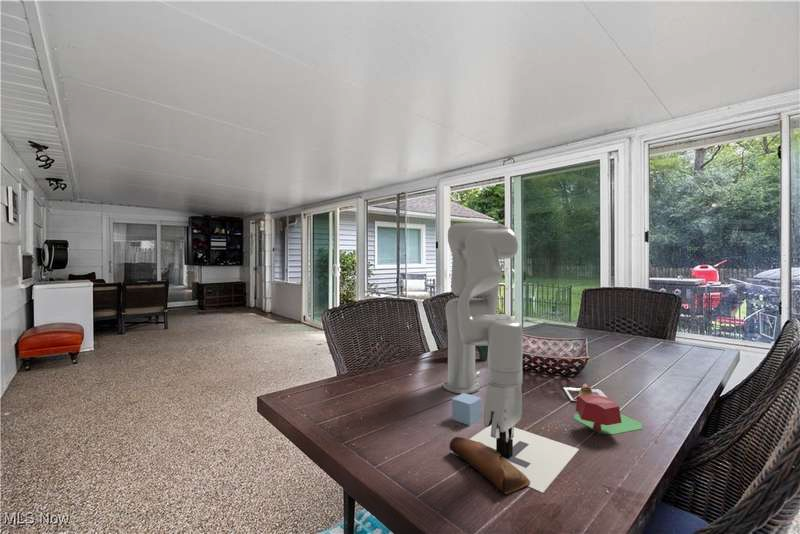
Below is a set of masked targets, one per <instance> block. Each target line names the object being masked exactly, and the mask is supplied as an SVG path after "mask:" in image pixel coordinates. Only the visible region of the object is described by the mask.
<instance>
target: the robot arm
mask: <svg viewBox="0 0 800 534" xmlns="http://www.w3.org/2000/svg"><path fill="white" fill-rule="evenodd" d="M447 242H448V243H447V244H448V246H449V249H450V252H451V256H452V262H451V265H452V266H451V278H450V279H451V280H450V281H451V283H450V286H451V292H452V293H453V295H455V296H457V298H452V299H449V300H448V301H447V302H446V303H445V309H444V310H445V319H446V320H447V327H448V335H447V339H448V359H447V379H446V380H445V381H443V388H444V389H445V390H446V391H448V392H450V393H451V392H452V393H454V394H462V393H466V394H472V393H473V394H474V393H476V392H478V391H480V387H481V386H480V383H479V382H478V381H476V379H477V378H479V377H481V372H480V371H476V347H475V346H488V354H487V382H488V383H487V384H486V385H487V386H486V389H485V391H486V392H485V397H484V408H483V409H484V411H483V413H484V414H483V425H484V427H485V428H487V427H489V426H491V425H492V427H491V437H494V438H496V451H497V452H498V453H500V454H501V456H502V457H504V458H506V459H510V457H512V456H513V439H511V438H513V436H514V427H515V426H516V424H518V423H519V422H520V421H521V419H522V415H523V397H522V396H523V395H522V385H523V351H524V350H523V344H524V343H523V339H524V337H523V336H524V333H523V329H524V328H523V326H522V324H521V323H520V322H519V321H516V318H514V317H513V316H511V315H510V314H497V309H498V299H499V287H500V286H499V285H500V283H501V282H502V280H503V273H502V268H501V264H500V259H503V260H504V259H508V260H509V259H513V258H514V257H516V255H517V253H518V249H519V245H518V244H519V243H518V238H517V236H516V234H515V232H514V231H513V230H512V229H511V228H510V227H508V226H506V225H504V224H502V223H499V222H497V223H496V222H494V223H493V222H459V223H454V224H452V225H450V226H449V227H448V230H447Z"/></svg>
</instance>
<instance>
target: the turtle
mask: <svg viewBox="0 0 800 534" xmlns="http://www.w3.org/2000/svg"><path fill="white" fill-rule="evenodd" d="M576 400H577V402H576V403H575V405H576V406H575V411H576V412H577V413H575V414H574V417H573V420H575V421H577V422H578V423H580V424H582V425H583V426H586V427H588V428H589V429H591V430H593V431H595V432H597V433H599V434H605V435H610V436H611V435H612V436H614V435H619V434H623V433H630V432H633V431H637V430H643V423H642V422H640V421H637V420H635V419H633V418H630V417H628V416H626V415H625V414H622V413H621V410H620V406H619V405H618V404H617V403H616V401H614V400H613V399H611V398H610V397H608V396H606V397H604V396H600V395H599V394H598V393H594V394H592V395H586V396H579V395H578V396H576Z"/></svg>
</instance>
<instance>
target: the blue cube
mask: <svg viewBox="0 0 800 534" xmlns="http://www.w3.org/2000/svg"><path fill="white" fill-rule="evenodd" d="M482 409H483V408H482V397H479V396H476V395H473V394H470V393H459V394H458V395H457V396H454V397H452V398H451V419H452V420H453V421H456V422H459V423H462V424H465V425H467V426H472V425H474V424H475V423H477V422H479V421H480V420H481V419H482Z"/></svg>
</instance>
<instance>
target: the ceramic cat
mask: <svg viewBox="0 0 800 534" xmlns="http://www.w3.org/2000/svg"><path fill="white" fill-rule="evenodd" d="M442 331H443V333H444V334H445V335H446V336H448V327H447V319H446V320H445V323H444V325H443V330H442ZM475 349H477V350H478V353H479V354H478V356H479V357H478V358H479V361H482V362H483V361H484V362H485V361H488V346H475ZM446 359H447V360H448V338H447V340H446Z"/></svg>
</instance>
